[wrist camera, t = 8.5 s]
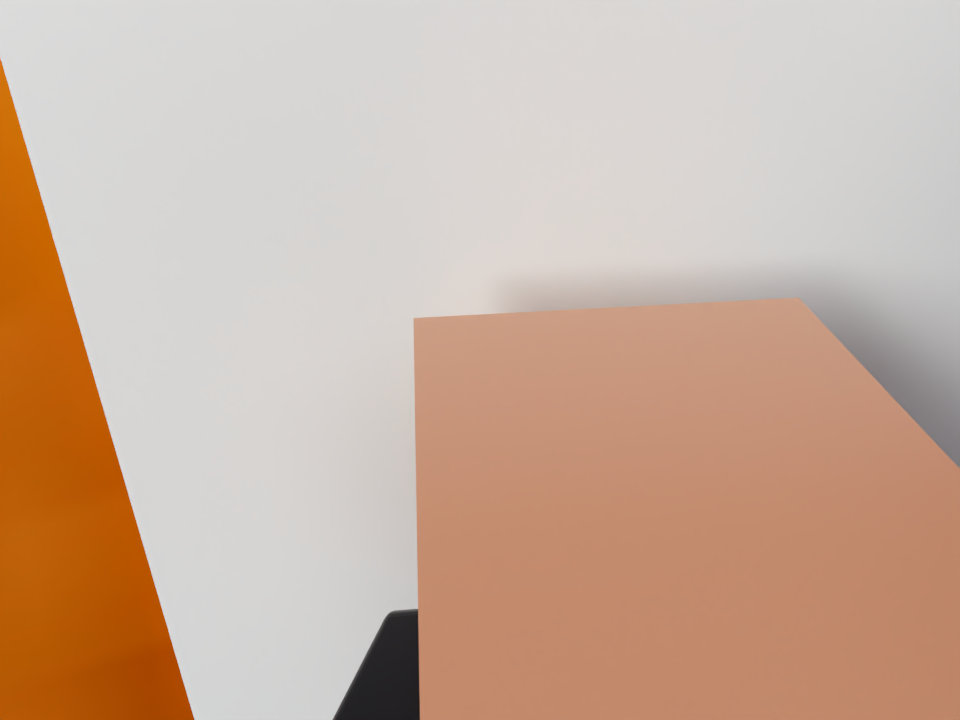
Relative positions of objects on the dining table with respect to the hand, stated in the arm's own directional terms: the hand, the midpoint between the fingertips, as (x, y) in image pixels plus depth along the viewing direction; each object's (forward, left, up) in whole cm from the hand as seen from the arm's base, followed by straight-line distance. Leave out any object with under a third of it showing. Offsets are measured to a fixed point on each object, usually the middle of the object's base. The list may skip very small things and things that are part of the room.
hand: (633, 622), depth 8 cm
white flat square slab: (0, 0, -4) cm, 4 cm away
